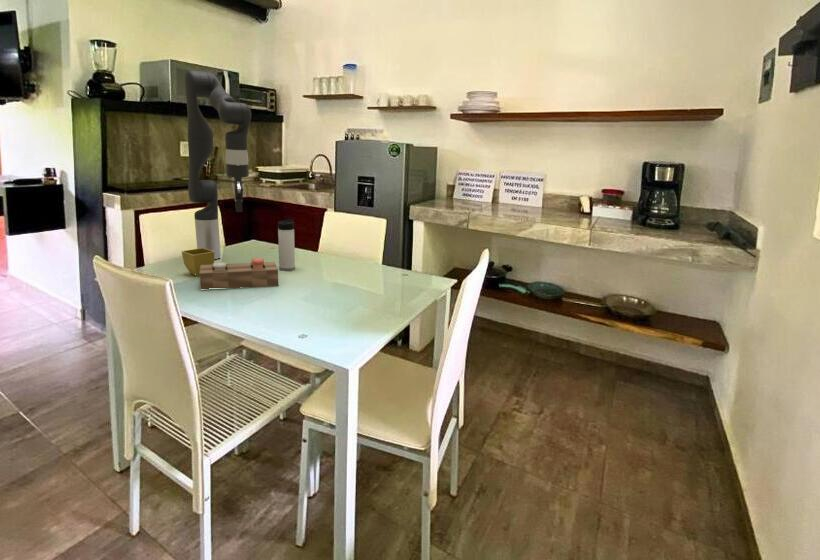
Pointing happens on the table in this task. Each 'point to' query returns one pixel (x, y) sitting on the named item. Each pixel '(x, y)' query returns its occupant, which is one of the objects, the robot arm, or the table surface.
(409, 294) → the table surface
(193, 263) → the flower pot
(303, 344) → the table surface
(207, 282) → the block
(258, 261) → the red plug
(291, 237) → the travel mug
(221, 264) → the grey plug
